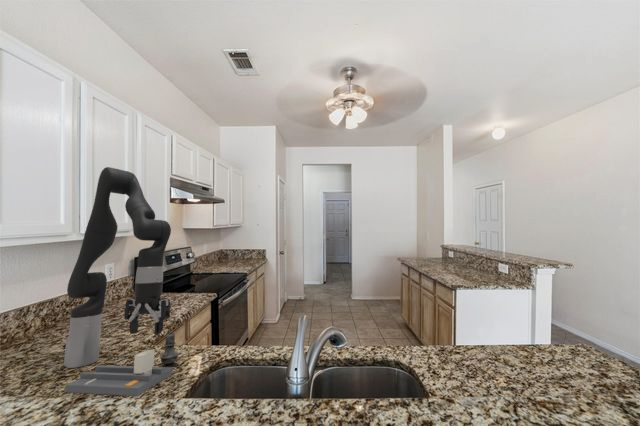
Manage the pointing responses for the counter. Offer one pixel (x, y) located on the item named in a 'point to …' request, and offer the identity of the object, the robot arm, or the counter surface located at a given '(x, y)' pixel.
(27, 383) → the counter surface
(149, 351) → the fader tab
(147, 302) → the robot arm
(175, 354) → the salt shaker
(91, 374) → the fader console
